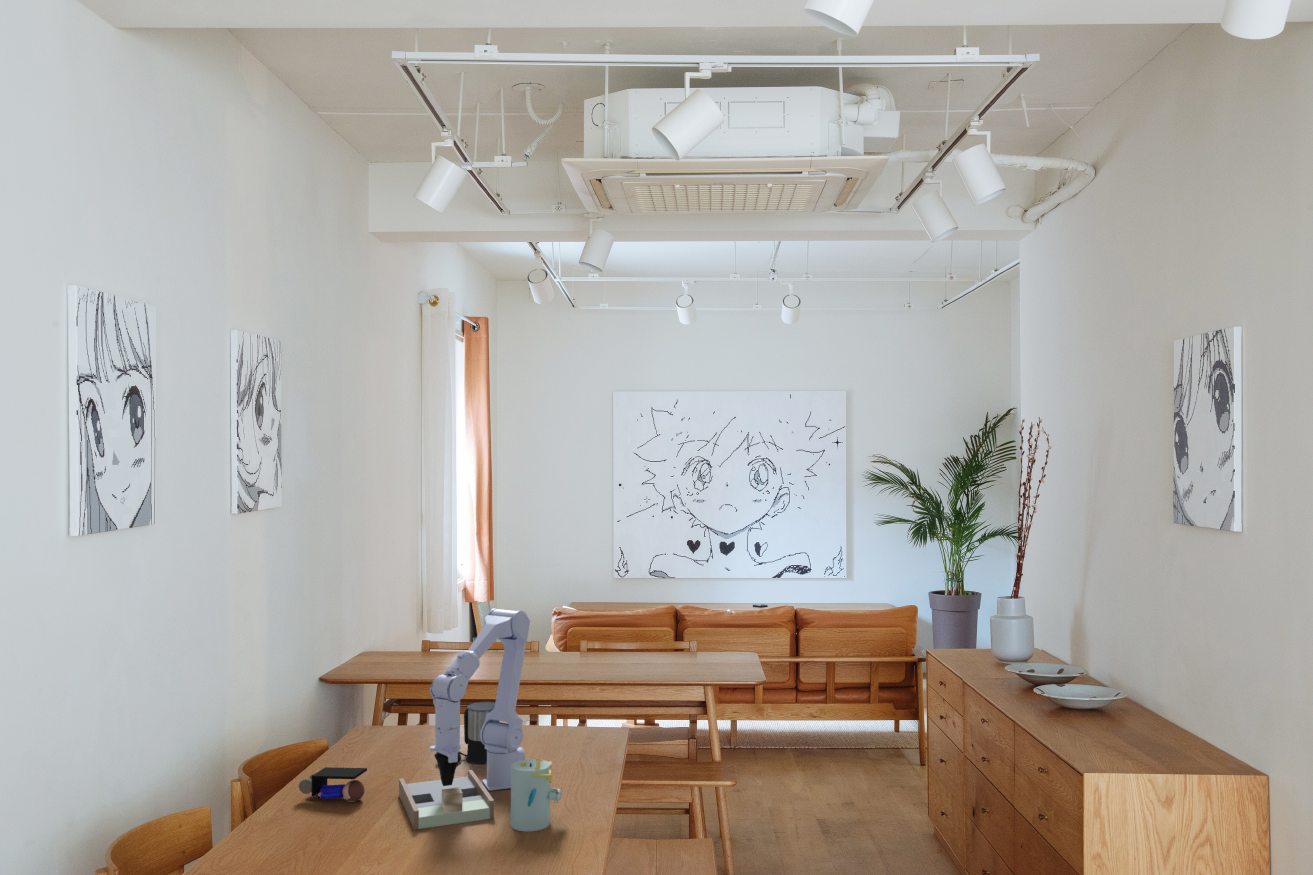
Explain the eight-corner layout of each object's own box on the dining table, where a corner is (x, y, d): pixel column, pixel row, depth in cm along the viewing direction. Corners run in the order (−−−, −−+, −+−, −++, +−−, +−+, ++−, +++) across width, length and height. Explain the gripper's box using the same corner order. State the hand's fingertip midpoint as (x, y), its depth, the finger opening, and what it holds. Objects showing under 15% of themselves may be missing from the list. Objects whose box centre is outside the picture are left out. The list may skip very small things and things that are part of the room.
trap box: (471, 785, 234) (472, 769, 234) (494, 817, 212) (494, 800, 212) (398, 794, 227) (399, 778, 227) (413, 829, 205) (414, 811, 205)
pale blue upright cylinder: (561, 840, 199) (562, 777, 200) (507, 841, 198) (508, 778, 199) (561, 807, 219) (562, 749, 220) (512, 808, 218) (513, 750, 219)
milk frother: (507, 758, 257) (507, 704, 258) (466, 773, 244) (467, 716, 245) (469, 749, 265) (470, 697, 265) (428, 763, 252) (429, 708, 252)
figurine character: (298, 808, 222) (356, 805, 219) (295, 776, 222) (354, 772, 219) (313, 799, 228) (370, 796, 226) (311, 767, 229) (367, 764, 226)
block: (459, 804, 213) (459, 787, 214) (462, 810, 210) (462, 792, 210) (441, 806, 212) (441, 789, 212) (444, 812, 208) (444, 794, 208)
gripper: (425, 720, 223) (424, 777, 223) (435, 736, 210) (435, 796, 210) (454, 717, 226) (454, 773, 226) (466, 733, 213) (466, 792, 212)
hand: (447, 784), depth 218 cm, fingers closed
